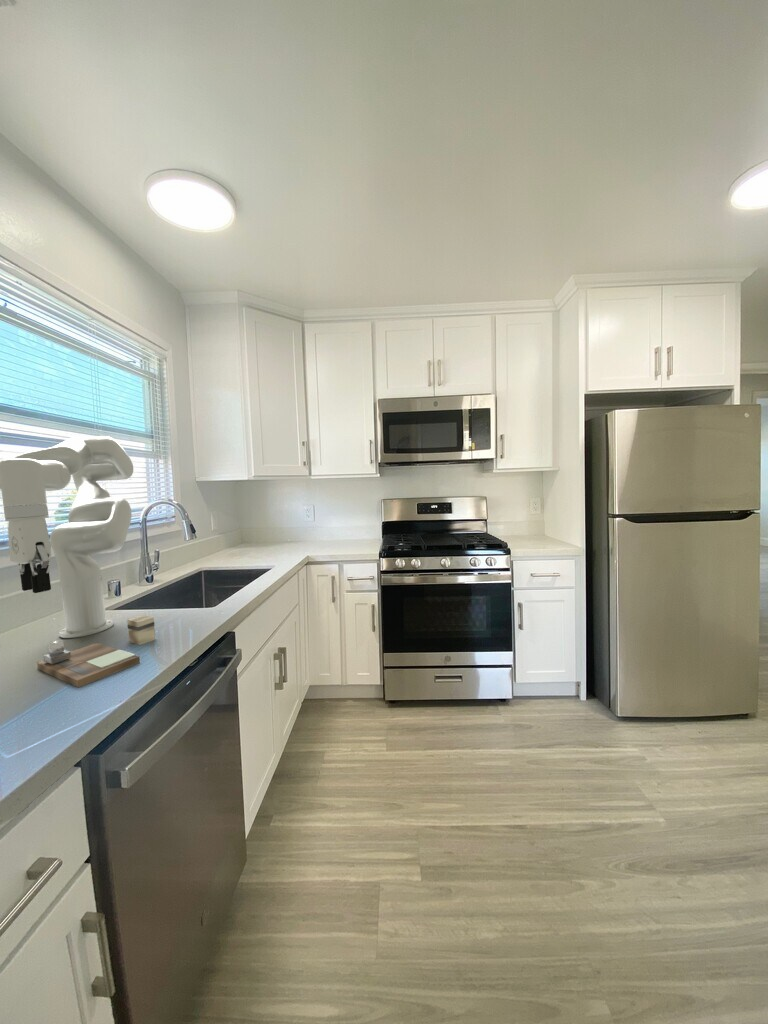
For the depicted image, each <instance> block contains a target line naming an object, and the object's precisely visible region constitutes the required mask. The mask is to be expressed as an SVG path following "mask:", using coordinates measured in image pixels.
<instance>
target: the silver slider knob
mask: <svg viewBox="0 0 768 1024" xmlns="http://www.w3.org/2000/svg"><path fill="white" fill-rule="evenodd" d="M47 646H48V653H47V654H44V655H42V656H43V661H45V662H47V663H50V664H55V663H57V662H60V661H63V660H66V659H69V658H71V653H70V652H71V651H70V650H67V649H65V648H64V646H65V645H64V640H63V639H56V640H53V641H50V642H48V643H47Z"/></svg>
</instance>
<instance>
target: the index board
mask: <svg viewBox="0 0 768 1024" xmlns="http://www.w3.org/2000/svg"><path fill="white" fill-rule="evenodd" d="M117 650H119V649H118V648H114V647H111V646H107V645H106V644H105V645H104V644H102V643H98V642H95V643H92V644H89V645H86V646H83V647H80V648H77V649H74V650H71V651H69V652H70V653H71V658H69V659H66V660H63V661H60V662H57V663H55V664H50V663H47V662H45V661H44V660H41V661H38V662H36V666H37V669H38V670H39V671H41V672H43V673H45V674H48V675H50V676H52V677H55V678H56V679H59V680H61V681H63V682H65V683H68V684H69V685H71V686H74V687H77V688H81V687H83V686H86V685H88V684H91V683H93V682H95V681H98V680H100V679H103V678H105V677H108V676H110V675H114V674H115V673H118V672H120V671H123V670H125V669H128V668H130V667H133V666H135V665H138V664H140V663H141V660H140V656H139V655H137V654H136V655H135V656H132V657H130V658H127V659H125V660H122V661H119V662H117V663H114V664H112V665H109V666H106V667H104V668H99V667H97V666H94V665H91V664H89V663H86V661H89V660H92V659H95V658H98V657H100V656H103V655H106V654H109V653H111V652H114V651H117Z"/></svg>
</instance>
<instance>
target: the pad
mask: <svg viewBox="0 0 768 1024" xmlns="http://www.w3.org/2000/svg"><path fill="white" fill-rule="evenodd" d="M135 655H137V654H136V653H133V652H129V651H126V650H123V649H118V650H117V651H114V652H111V653H109V654H106V655H103V656H100V657H98V658H95V659H92V660H89V661H86V663H89V664H91V665H94V666H97V667H99V668H104V667H106V666H109V665H112V664H114V663H117V662H119V661H122V660H125V659H127V658H130V657H132V656H135Z"/></svg>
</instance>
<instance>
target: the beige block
mask: <svg viewBox="0 0 768 1024" xmlns="http://www.w3.org/2000/svg"><path fill="white" fill-rule="evenodd" d="M126 621H127V630H128V638H129V639H128V640H129V643H132V644H135V645H139V646H142V645H144V644H147V643H150V642H152V641H155V640H156V630H155V626H156V625H155V621H154V616H149V615H144V614H142V615H139V616H134V617H133V618H129V619H126Z"/></svg>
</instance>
